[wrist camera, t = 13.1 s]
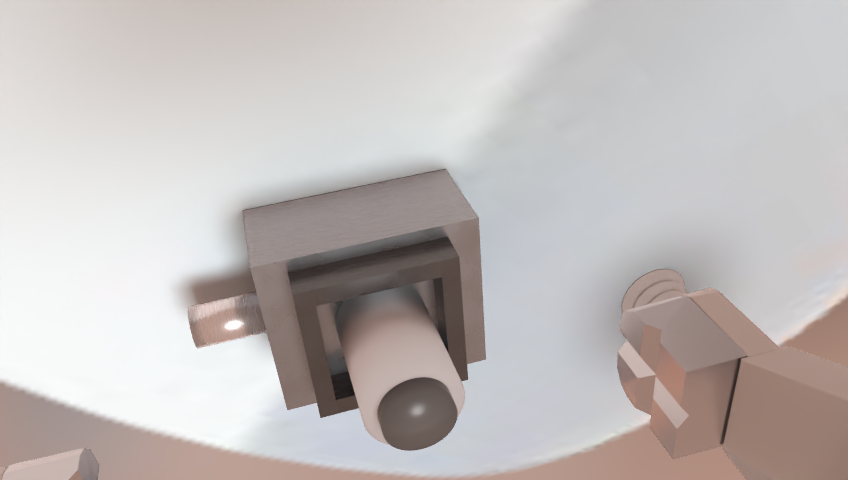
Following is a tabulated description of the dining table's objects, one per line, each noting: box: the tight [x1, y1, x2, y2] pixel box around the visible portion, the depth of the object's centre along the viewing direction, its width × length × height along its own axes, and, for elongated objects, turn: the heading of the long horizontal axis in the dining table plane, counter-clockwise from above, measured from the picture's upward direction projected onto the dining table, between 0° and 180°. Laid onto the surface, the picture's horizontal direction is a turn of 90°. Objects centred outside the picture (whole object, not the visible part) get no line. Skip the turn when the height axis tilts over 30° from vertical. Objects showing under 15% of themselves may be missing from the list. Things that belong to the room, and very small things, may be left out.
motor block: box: [188, 169, 486, 418], centre depth 41 cm, size 16×10×8 cm, turn 95°
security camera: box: [336, 285, 465, 450], centre depth 36 cm, size 5×5×8 cm
